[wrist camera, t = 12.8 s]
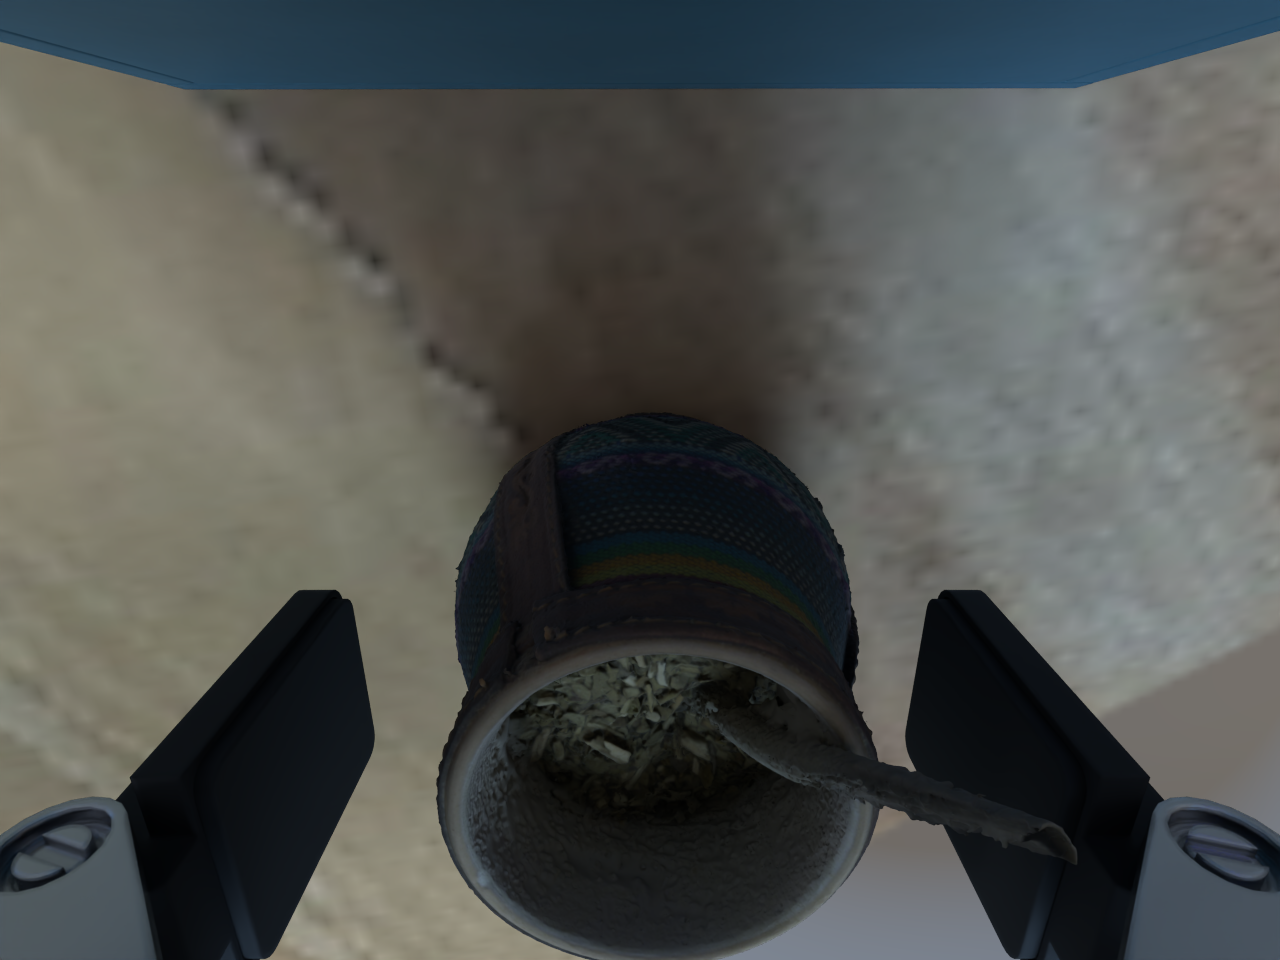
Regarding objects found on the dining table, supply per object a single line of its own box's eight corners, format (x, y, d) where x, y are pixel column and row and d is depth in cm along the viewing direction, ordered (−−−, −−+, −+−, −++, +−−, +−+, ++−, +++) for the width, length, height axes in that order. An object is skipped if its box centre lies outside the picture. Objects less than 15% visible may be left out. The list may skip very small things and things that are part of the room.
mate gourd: (424, 517, 16) (104, 965, 6) (683, 294, 14) (758, 472, 5) (632, 713, 18) (616, 1274, 8) (883, 541, 16) (1218, 1014, 7)
